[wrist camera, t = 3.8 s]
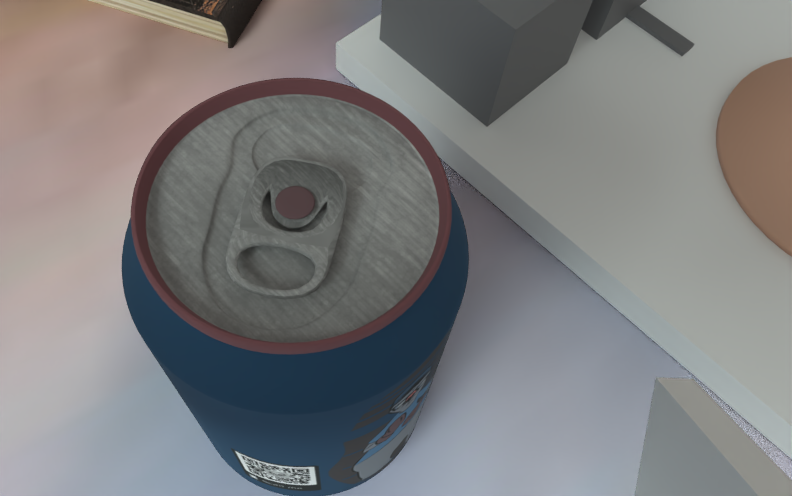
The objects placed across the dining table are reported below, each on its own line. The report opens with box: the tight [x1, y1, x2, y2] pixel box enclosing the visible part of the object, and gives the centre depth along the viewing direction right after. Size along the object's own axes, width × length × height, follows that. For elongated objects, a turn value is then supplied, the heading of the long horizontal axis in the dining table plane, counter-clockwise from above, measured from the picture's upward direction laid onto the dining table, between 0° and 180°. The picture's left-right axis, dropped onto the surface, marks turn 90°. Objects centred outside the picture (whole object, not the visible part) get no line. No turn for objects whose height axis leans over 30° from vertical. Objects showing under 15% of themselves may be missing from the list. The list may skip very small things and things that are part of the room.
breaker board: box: [336, 0, 792, 459], centre depth 26 cm, size 26×22×8 cm
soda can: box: [122, 78, 469, 496], centre depth 18 cm, size 7×7×12 cm
